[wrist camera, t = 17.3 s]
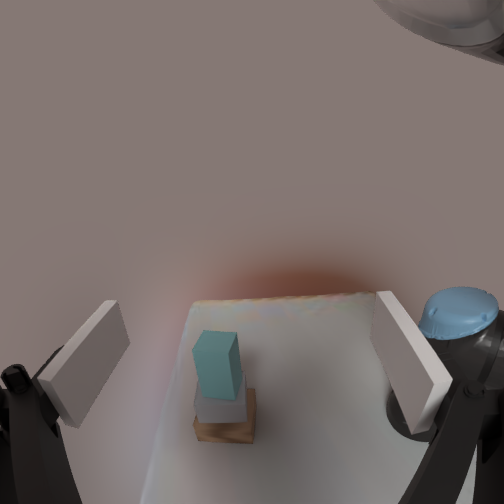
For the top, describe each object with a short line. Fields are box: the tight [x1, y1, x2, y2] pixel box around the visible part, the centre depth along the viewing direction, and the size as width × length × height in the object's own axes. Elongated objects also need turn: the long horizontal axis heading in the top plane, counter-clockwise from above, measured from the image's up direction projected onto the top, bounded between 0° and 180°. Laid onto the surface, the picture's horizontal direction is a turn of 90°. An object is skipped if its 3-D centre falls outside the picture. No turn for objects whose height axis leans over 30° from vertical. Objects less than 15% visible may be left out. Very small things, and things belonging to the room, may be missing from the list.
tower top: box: [194, 371, 247, 423], centre depth 44 cm, size 8×8×4 cm
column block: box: [192, 330, 242, 400], centre depth 41 cm, size 5×5×9 cm
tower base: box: [193, 389, 256, 444], centre depth 45 cm, size 9×9×4 cm
